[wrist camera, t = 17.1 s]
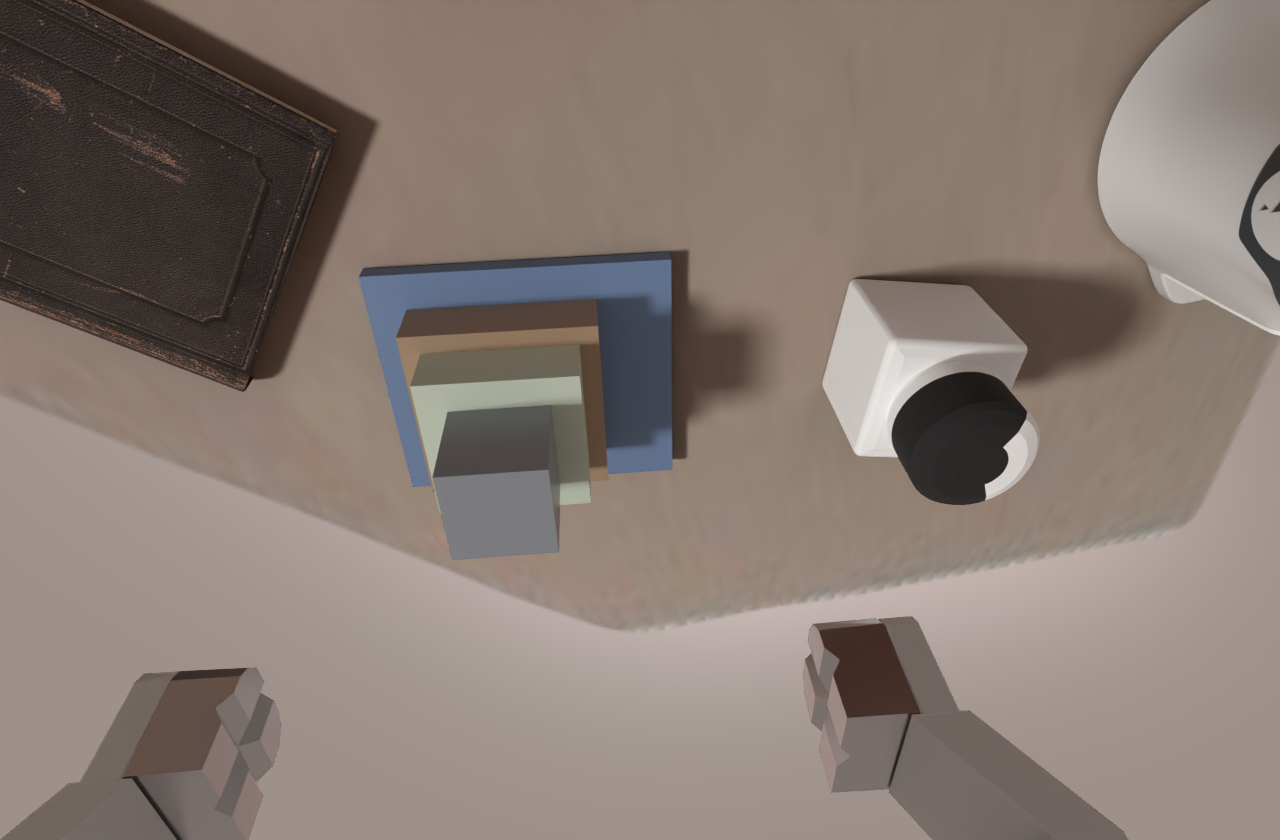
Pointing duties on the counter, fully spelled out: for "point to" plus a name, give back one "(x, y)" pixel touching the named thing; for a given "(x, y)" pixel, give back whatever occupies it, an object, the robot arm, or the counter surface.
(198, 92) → the hardcover book
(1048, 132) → the counter surface
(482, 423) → the slate block
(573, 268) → the tower
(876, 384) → the medicine bottle
